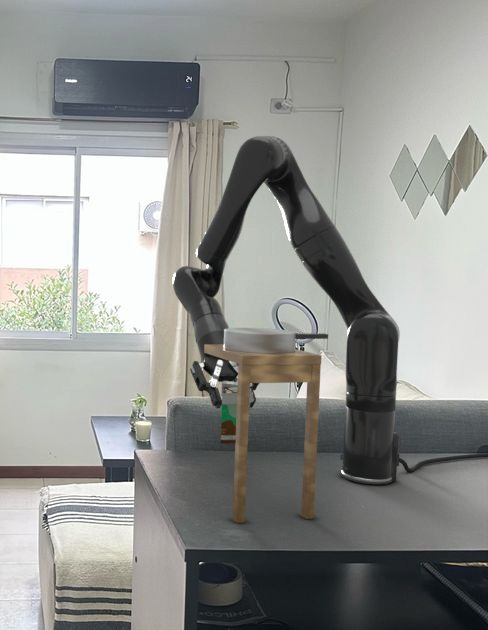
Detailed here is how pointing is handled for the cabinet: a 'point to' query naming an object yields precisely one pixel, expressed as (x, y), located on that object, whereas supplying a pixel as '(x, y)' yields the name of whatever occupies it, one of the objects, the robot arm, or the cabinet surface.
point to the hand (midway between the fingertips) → (235, 405)
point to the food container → (230, 413)
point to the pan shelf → (271, 367)
